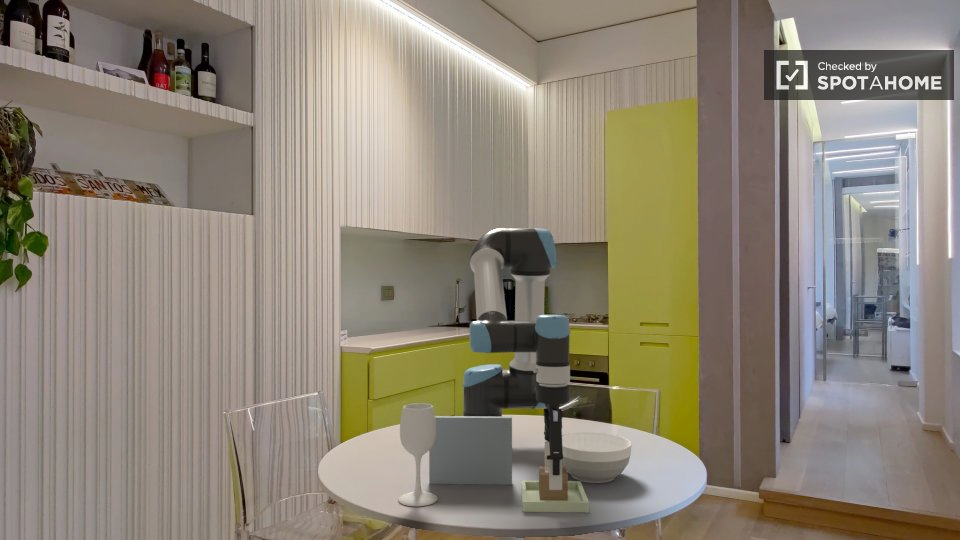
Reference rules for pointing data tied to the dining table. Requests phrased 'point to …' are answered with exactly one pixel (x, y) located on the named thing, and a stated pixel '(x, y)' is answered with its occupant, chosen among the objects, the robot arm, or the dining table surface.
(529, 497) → the tray
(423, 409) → the wineglass
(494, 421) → the screen
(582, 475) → the bowl
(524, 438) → the dining table surface
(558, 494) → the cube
